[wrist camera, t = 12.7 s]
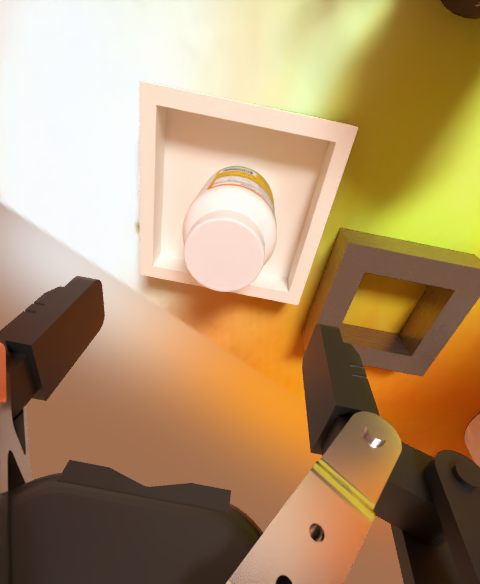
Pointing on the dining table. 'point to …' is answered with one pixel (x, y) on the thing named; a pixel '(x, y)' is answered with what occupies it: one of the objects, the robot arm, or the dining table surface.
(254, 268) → the supplement bottle
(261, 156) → the tray
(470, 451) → the utensil holder
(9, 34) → the dining table surface
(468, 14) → the coffee mug
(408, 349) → the socket collar
